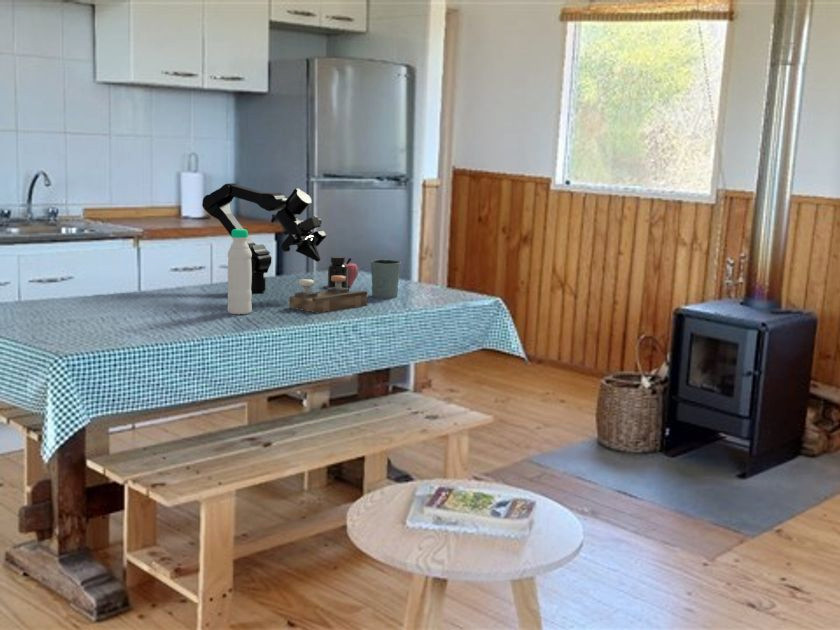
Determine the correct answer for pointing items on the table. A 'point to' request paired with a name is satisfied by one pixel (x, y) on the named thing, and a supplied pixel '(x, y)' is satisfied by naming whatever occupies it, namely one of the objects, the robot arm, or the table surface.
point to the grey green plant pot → (385, 278)
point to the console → (328, 300)
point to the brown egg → (338, 280)
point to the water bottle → (239, 274)
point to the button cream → (306, 285)
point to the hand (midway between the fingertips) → (319, 260)
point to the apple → (351, 272)
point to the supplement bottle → (337, 271)
